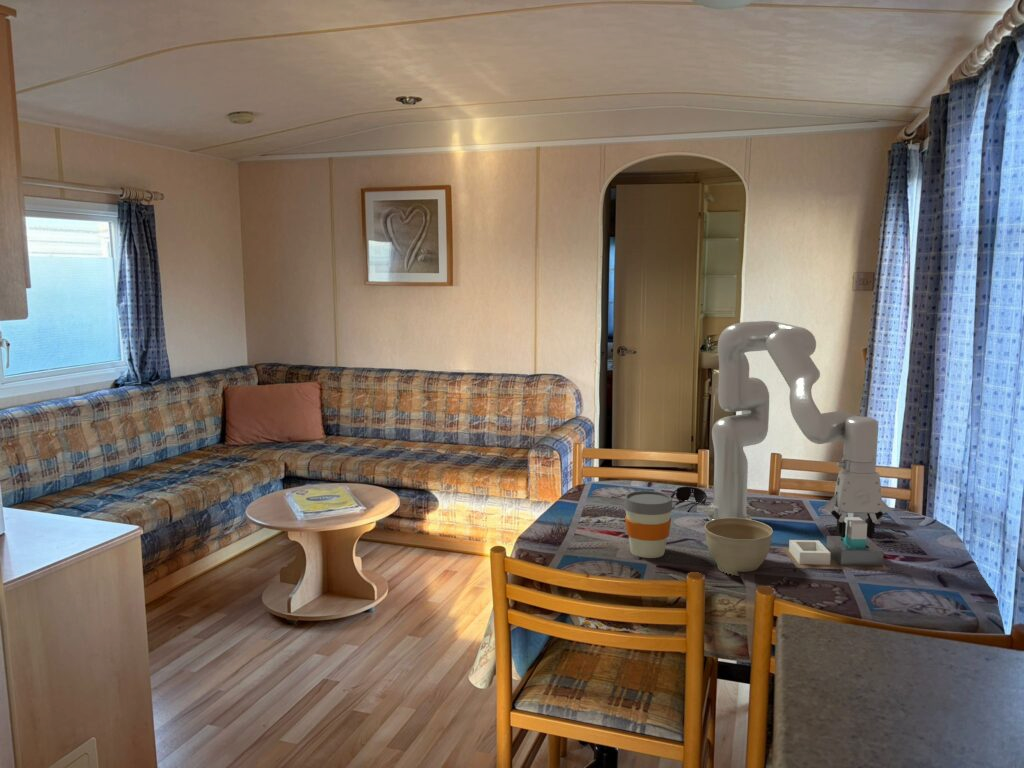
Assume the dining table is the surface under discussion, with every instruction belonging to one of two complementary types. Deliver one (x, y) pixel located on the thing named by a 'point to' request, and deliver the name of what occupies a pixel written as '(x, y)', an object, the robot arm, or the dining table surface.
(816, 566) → the panel board
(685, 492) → the sunglasses
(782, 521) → the dining table surface
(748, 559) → the planter bowl
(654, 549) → the reusable coffee cup
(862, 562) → the port block
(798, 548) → the white rectangular frame
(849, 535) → the plug
